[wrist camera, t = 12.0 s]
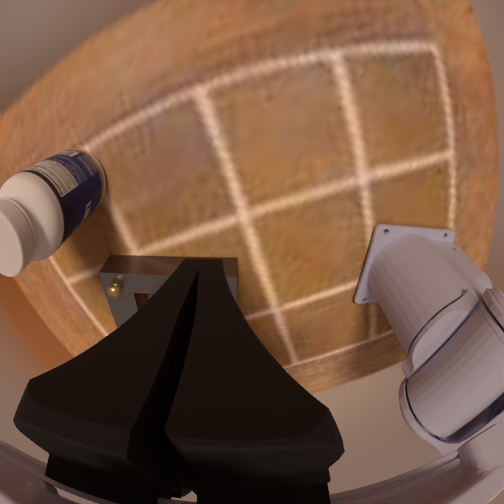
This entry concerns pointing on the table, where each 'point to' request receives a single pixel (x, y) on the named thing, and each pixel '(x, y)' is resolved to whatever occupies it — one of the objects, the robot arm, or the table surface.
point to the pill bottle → (47, 206)
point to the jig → (145, 280)
